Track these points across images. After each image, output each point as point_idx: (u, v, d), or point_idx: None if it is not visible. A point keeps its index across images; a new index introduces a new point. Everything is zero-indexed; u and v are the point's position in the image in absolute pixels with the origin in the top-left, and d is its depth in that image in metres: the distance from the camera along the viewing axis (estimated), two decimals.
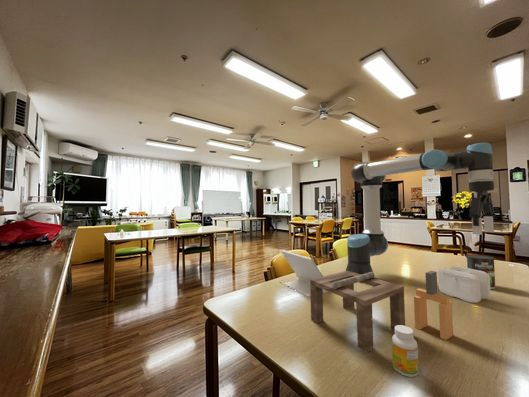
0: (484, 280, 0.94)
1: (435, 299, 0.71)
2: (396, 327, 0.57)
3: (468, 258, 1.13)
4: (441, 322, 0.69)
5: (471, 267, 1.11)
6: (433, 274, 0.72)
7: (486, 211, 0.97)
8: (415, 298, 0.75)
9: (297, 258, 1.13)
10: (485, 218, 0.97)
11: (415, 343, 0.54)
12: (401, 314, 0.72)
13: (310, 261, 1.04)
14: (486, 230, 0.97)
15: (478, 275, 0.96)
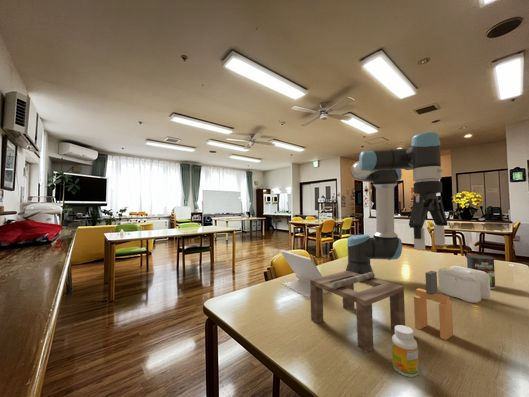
0: (484, 280, 0.94)
1: (435, 299, 0.71)
2: (396, 327, 0.57)
3: (468, 258, 1.13)
4: (441, 322, 0.69)
5: (471, 267, 1.11)
6: (433, 274, 0.72)
7: (436, 219, 0.77)
8: (415, 298, 0.75)
9: (296, 258, 1.13)
10: (435, 228, 0.77)
11: (415, 343, 0.54)
12: (401, 314, 0.72)
13: (309, 261, 1.04)
14: (436, 243, 0.77)
15: (478, 275, 0.96)
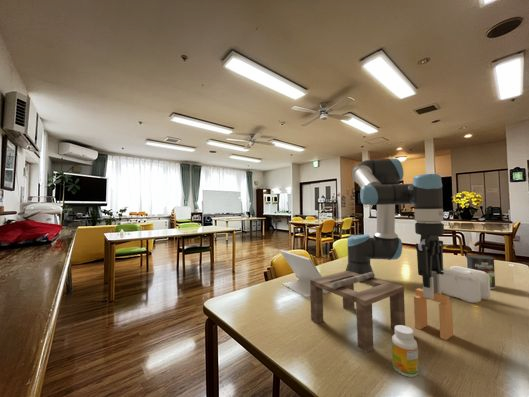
0: (484, 280, 0.94)
1: (435, 299, 0.71)
2: (396, 327, 0.57)
3: (468, 258, 1.13)
4: (441, 322, 0.69)
5: (471, 267, 1.11)
6: (433, 274, 0.72)
7: (433, 264, 0.75)
8: (415, 298, 0.75)
9: (296, 258, 1.13)
10: None
11: (415, 343, 0.54)
12: (401, 314, 0.72)
13: (308, 261, 1.03)
14: None
15: (478, 275, 0.96)
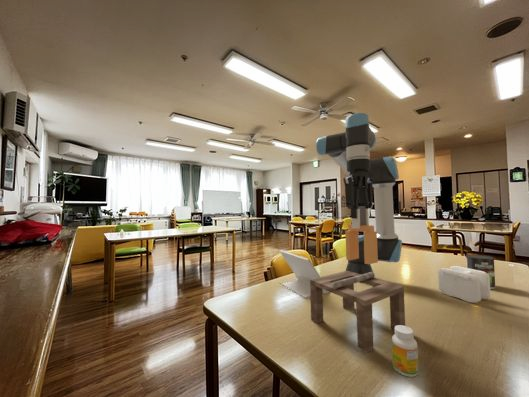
0: (484, 280, 0.94)
1: (362, 230, 0.76)
2: (396, 327, 0.57)
3: (468, 258, 1.13)
4: (365, 249, 0.73)
5: (471, 267, 1.11)
6: (361, 207, 0.77)
7: (362, 200, 0.79)
8: (346, 232, 0.80)
9: (295, 258, 1.12)
10: None
11: (415, 343, 0.54)
12: (401, 314, 0.72)
13: (307, 262, 1.03)
14: None
15: (478, 275, 0.96)
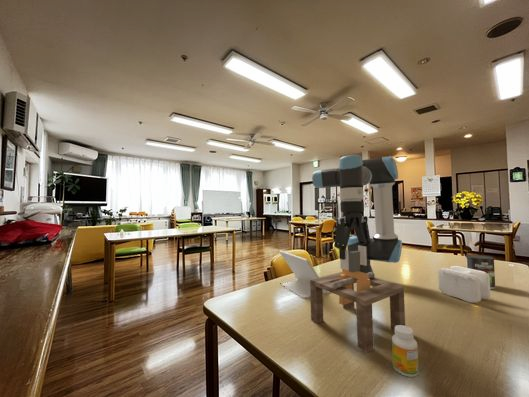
0: (484, 280, 0.94)
1: (355, 276, 0.76)
2: (396, 327, 0.57)
3: (468, 258, 1.13)
4: None
5: (471, 267, 1.11)
6: (355, 253, 0.77)
7: (360, 238, 0.80)
8: (340, 276, 0.80)
9: (294, 259, 1.12)
10: (359, 248, 0.81)
11: (415, 343, 0.54)
12: (401, 314, 0.72)
13: (306, 262, 1.02)
14: (360, 263, 0.81)
15: (478, 275, 0.96)
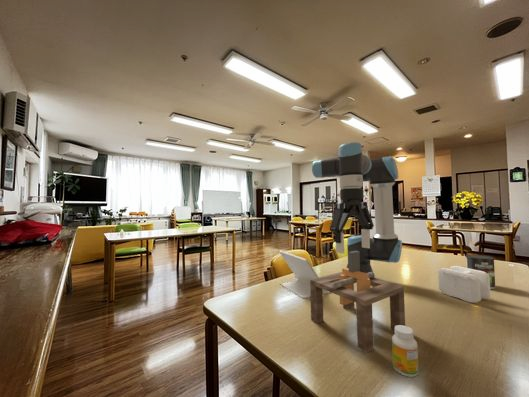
0: (484, 280, 0.94)
1: (355, 276, 0.76)
2: (396, 327, 0.57)
3: (468, 258, 1.13)
4: None
5: (471, 267, 1.11)
6: (355, 253, 0.77)
7: (362, 223, 0.82)
8: (340, 276, 0.80)
9: (293, 259, 1.12)
10: (362, 231, 0.82)
11: (415, 343, 0.54)
12: (401, 314, 0.72)
13: (305, 262, 1.02)
14: (363, 246, 0.82)
15: (478, 275, 0.96)
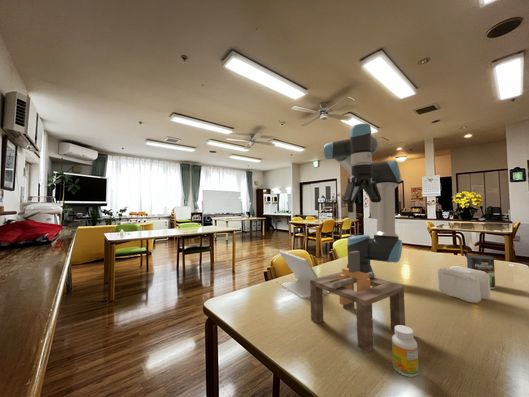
0: (484, 280, 0.94)
1: (355, 276, 0.76)
2: (396, 327, 0.57)
3: (468, 258, 1.13)
4: None
5: (471, 267, 1.11)
6: (355, 253, 0.77)
7: (371, 197, 0.92)
8: (340, 276, 0.80)
9: (293, 259, 1.12)
10: (371, 204, 0.92)
11: (415, 343, 0.54)
12: (401, 314, 0.72)
13: (305, 262, 1.02)
14: (372, 217, 0.92)
15: (478, 275, 0.96)
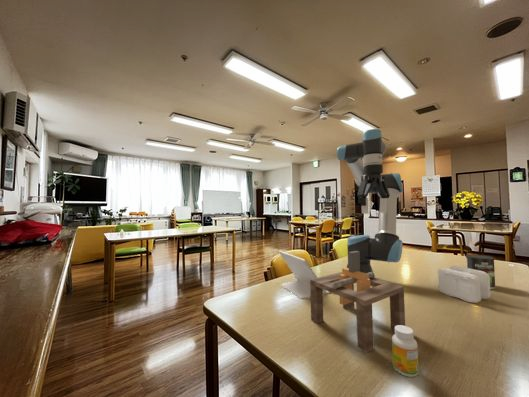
0: (484, 280, 0.94)
1: (355, 276, 0.76)
2: (396, 327, 0.57)
3: (468, 258, 1.13)
4: None
5: (471, 267, 1.11)
6: (355, 253, 0.77)
7: (381, 193, 1.04)
8: (340, 276, 0.80)
9: (292, 259, 1.12)
10: (381, 200, 1.05)
11: (415, 343, 0.54)
12: (401, 314, 0.72)
13: (304, 262, 1.02)
14: (381, 211, 1.04)
15: (478, 275, 0.96)
